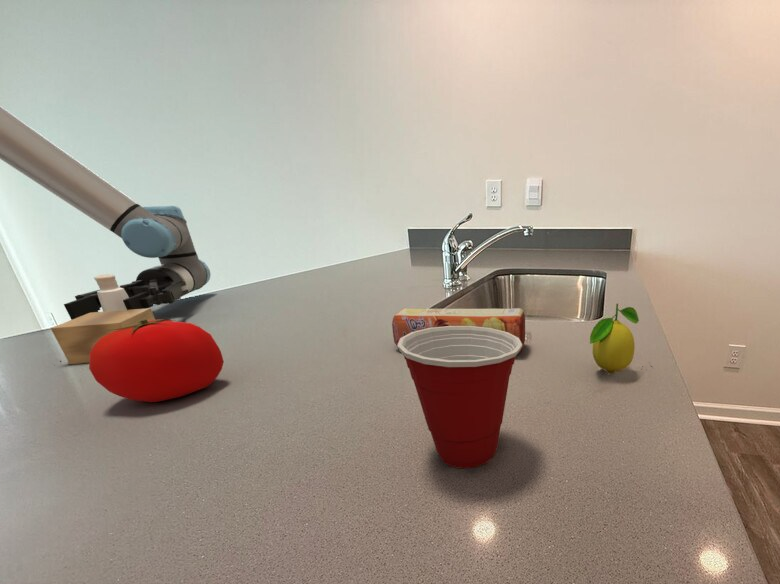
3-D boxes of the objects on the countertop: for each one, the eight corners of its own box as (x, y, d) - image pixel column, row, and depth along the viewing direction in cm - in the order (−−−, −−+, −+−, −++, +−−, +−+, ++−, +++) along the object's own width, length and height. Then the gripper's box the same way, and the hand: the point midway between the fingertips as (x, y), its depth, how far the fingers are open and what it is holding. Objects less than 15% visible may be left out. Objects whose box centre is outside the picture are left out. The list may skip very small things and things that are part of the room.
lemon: (633, 365, 59) (641, 297, 55) (638, 383, 54) (648, 309, 49) (586, 364, 60) (591, 296, 55) (587, 381, 55) (592, 308, 50)
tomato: (235, 393, 54) (208, 317, 49) (106, 425, 47) (61, 341, 42) (226, 367, 62) (202, 300, 57) (116, 391, 55) (79, 317, 50)
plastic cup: (546, 451, 40) (548, 336, 35) (455, 503, 34) (441, 372, 29) (479, 412, 48) (473, 312, 42) (395, 449, 41) (375, 336, 36)
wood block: (69, 364, 64) (50, 328, 61) (105, 345, 72) (89, 312, 69) (136, 358, 66) (119, 322, 63) (164, 340, 74) (150, 308, 71)
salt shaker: (103, 338, 76) (74, 278, 71) (131, 329, 81) (106, 272, 76) (128, 338, 75) (101, 278, 70) (155, 329, 80) (131, 272, 75)
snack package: (392, 352, 66) (385, 311, 63) (409, 338, 72) (403, 301, 69) (521, 359, 62) (521, 316, 59) (528, 344, 68) (527, 304, 65)
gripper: (222, 296, 95) (175, 324, 75) (118, 303, 90) (38, 336, 70) (211, 263, 91) (159, 283, 72) (102, 269, 87) (14, 292, 67)
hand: (99, 309), depth 71 cm, fingers open, 8 cm apart
